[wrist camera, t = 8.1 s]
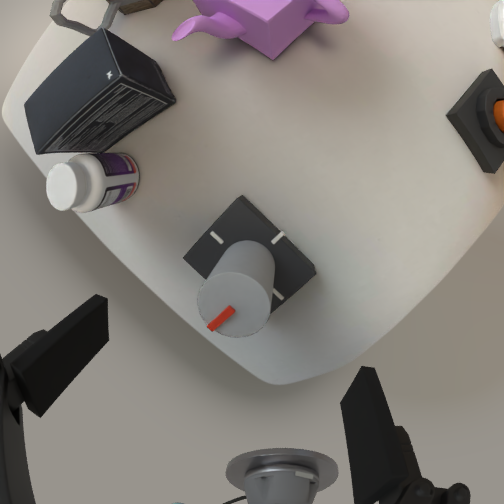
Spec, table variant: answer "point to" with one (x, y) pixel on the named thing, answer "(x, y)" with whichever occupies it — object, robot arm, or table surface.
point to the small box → (96, 97)
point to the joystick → (497, 23)
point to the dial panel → (259, 230)
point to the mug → (125, 3)
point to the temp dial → (239, 290)
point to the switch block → (481, 120)
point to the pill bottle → (92, 181)
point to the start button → (499, 114)
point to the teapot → (261, 20)
